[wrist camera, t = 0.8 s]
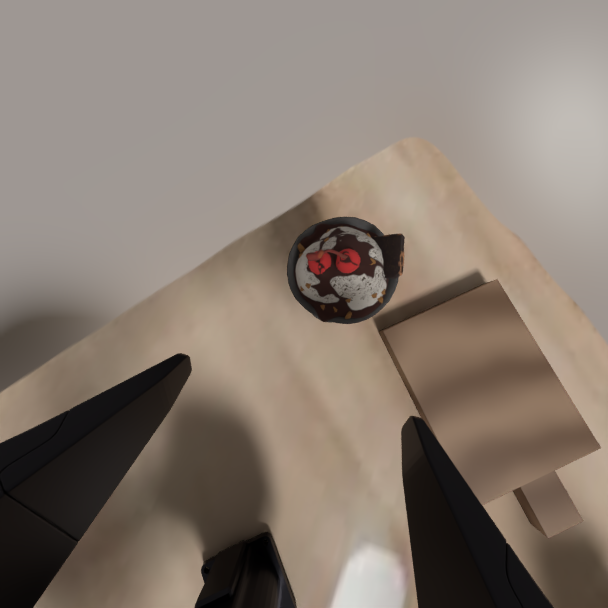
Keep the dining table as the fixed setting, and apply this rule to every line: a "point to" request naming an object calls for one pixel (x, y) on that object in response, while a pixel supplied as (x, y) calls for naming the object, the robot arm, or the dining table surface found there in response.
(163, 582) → the dining table surface
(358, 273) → the sundae
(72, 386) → the dining table surface
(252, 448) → the dining table surface
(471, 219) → the dining table surface
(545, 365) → the board
